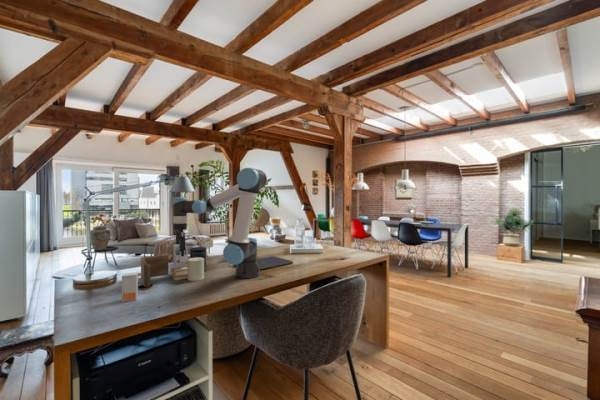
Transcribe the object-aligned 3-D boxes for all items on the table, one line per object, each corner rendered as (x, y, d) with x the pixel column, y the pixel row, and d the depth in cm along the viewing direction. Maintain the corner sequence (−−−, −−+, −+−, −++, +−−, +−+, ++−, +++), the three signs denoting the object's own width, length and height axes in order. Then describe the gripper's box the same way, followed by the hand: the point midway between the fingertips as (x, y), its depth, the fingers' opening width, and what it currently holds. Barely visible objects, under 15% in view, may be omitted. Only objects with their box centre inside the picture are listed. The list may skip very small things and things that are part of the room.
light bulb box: (187, 264, 165) (187, 245, 165) (175, 265, 162) (175, 247, 162) (184, 260, 174) (184, 243, 174) (172, 262, 171) (172, 244, 171)
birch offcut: (188, 273, 167) (188, 268, 167) (176, 275, 162) (176, 270, 162) (182, 270, 174) (182, 265, 174) (170, 272, 169) (170, 267, 169)
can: (198, 281, 159) (198, 260, 159) (184, 280, 161) (184, 259, 161) (207, 276, 168) (207, 256, 168) (193, 276, 170) (193, 256, 170)
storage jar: (209, 269, 185) (208, 247, 184) (202, 274, 175) (202, 250, 175) (194, 269, 186) (194, 246, 185) (187, 273, 176) (187, 249, 176)
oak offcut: (189, 278, 166) (189, 273, 166) (174, 281, 162) (174, 275, 162) (185, 274, 174) (185, 270, 174) (171, 277, 170) (171, 272, 170)
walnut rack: (174, 282, 157) (174, 261, 156) (144, 287, 148) (144, 265, 148) (168, 273, 175) (168, 254, 175) (141, 277, 167) (140, 257, 167)
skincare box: (121, 302, 128) (121, 276, 128) (123, 299, 132) (122, 273, 132) (136, 300, 130) (136, 274, 130) (138, 297, 134) (137, 272, 134)
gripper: (170, 221, 175) (170, 257, 176) (177, 224, 156) (177, 264, 156) (182, 221, 179) (182, 255, 180) (191, 224, 160) (191, 262, 160)
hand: (180, 259), depth 168 cm, fingers closed on light bulb box, 11 cm apart
